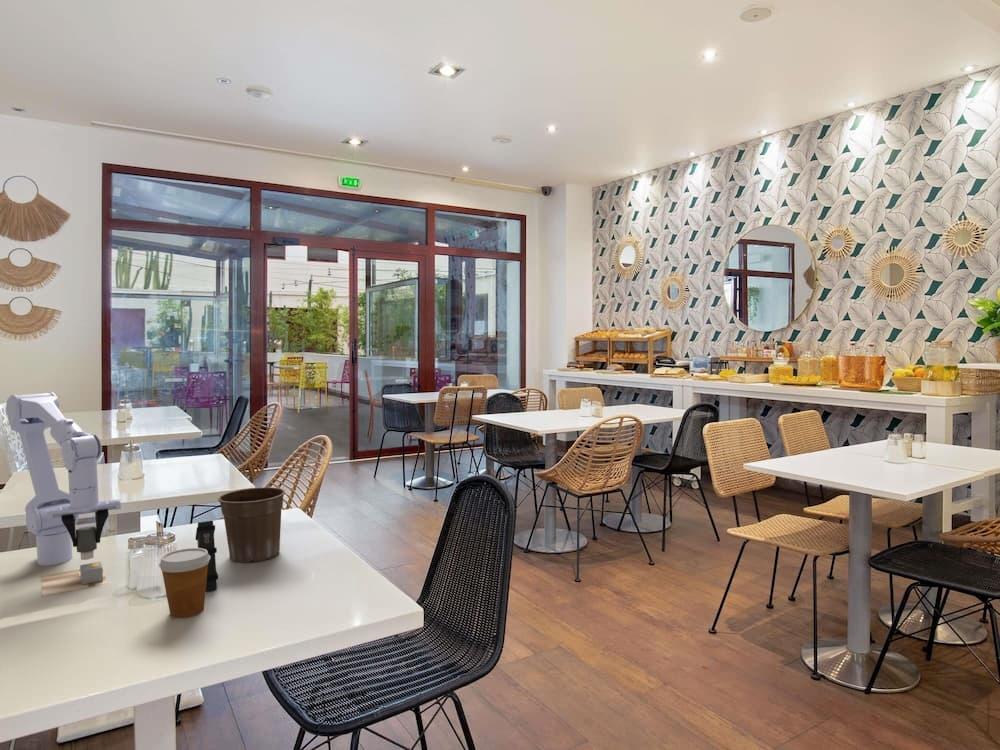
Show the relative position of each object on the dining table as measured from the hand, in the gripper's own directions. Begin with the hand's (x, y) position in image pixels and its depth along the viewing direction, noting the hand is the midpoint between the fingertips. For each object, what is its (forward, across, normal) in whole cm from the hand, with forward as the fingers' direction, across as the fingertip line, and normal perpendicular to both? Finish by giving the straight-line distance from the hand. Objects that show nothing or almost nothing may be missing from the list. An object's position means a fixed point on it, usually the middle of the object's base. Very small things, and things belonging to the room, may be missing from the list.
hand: (86, 543), depth 153 cm
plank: (+8, -3, -4) cm, 10 cm away
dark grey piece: (+3, 0, 0) cm, 3 cm away
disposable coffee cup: (+8, +15, -36) cm, 40 cm away
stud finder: (+7, 0, -7) cm, 10 cm away
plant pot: (+8, +36, -8) cm, 38 cm away
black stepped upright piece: (+8, +22, -21) cm, 32 cm away
